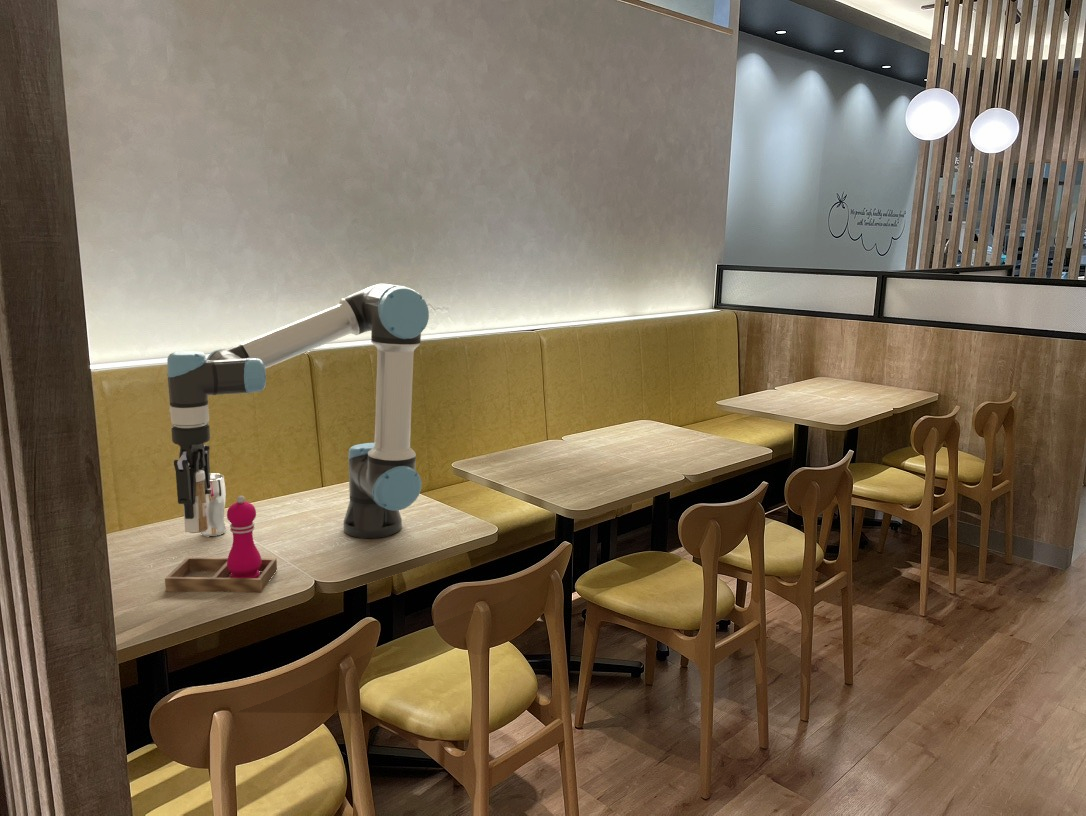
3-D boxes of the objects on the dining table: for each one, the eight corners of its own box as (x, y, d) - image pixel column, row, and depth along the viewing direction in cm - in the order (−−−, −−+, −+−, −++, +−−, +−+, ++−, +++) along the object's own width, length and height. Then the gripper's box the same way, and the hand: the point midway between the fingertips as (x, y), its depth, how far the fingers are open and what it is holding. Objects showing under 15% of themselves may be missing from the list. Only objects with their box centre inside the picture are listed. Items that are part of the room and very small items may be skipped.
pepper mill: (222, 580, 181) (217, 495, 177) (253, 571, 186) (249, 488, 182) (236, 591, 176) (231, 503, 172) (268, 581, 181) (263, 496, 177)
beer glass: (217, 538, 205) (214, 482, 202) (193, 536, 206) (189, 479, 203) (233, 529, 212) (230, 474, 208) (209, 527, 213) (205, 472, 210)
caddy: (277, 570, 187) (276, 558, 186) (260, 592, 175) (260, 579, 175) (187, 569, 186) (186, 557, 186) (165, 591, 175) (164, 578, 174)
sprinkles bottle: (212, 529, 179) (209, 470, 176) (195, 535, 175) (191, 475, 172) (198, 525, 181) (195, 467, 178) (181, 531, 177) (177, 472, 174)
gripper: (189, 414, 182) (195, 513, 187) (154, 433, 165) (162, 541, 169) (223, 415, 182) (228, 514, 187) (191, 434, 165) (198, 542, 170)
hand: (196, 527), depth 178 cm, fingers closed on sprinkles bottle, 4 cm apart
